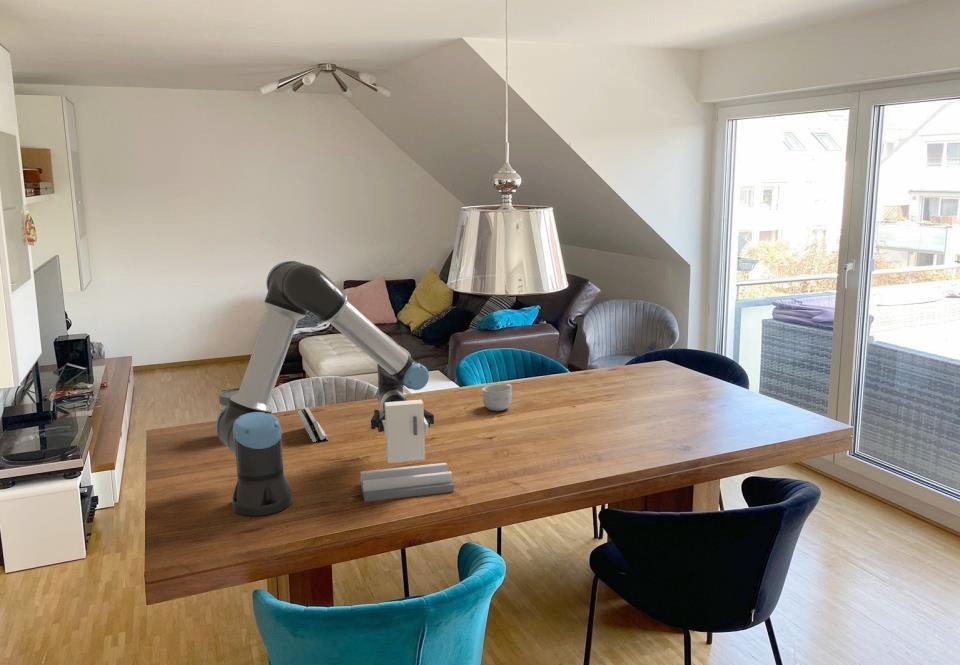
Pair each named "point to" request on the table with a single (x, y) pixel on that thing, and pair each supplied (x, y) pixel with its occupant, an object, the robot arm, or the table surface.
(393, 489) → the track
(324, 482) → the table surface
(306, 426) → the white and black console
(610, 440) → the table surface
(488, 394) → the teacup
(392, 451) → the door panel
